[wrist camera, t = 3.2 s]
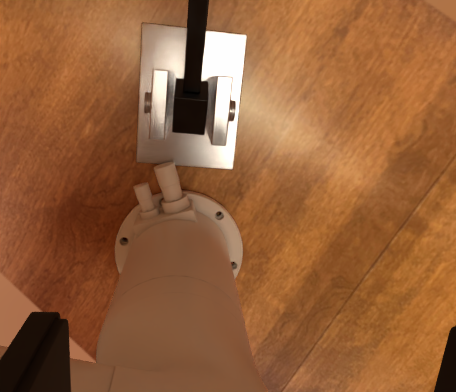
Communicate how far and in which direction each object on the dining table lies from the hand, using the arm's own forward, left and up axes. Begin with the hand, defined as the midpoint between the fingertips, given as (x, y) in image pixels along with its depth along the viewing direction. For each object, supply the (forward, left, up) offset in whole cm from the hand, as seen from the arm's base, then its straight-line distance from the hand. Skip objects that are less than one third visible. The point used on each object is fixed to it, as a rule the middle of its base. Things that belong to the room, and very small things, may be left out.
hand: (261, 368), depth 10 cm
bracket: (-5, 0, -32) cm, 32 cm away
